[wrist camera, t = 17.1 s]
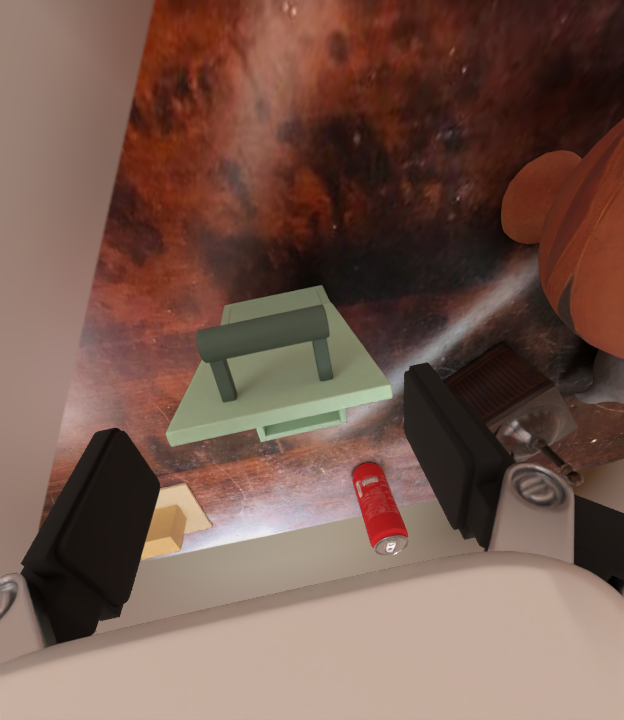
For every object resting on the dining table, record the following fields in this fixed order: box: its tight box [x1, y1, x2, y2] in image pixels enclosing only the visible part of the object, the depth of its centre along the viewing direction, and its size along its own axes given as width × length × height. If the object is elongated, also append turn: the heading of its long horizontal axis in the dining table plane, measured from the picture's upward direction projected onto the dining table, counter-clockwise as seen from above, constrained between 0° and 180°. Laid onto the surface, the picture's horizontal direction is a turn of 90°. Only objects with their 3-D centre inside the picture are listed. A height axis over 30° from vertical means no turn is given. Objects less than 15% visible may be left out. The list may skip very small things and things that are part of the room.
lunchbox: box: [220, 285, 347, 442], centre depth 37 cm, size 16×11×5 cm
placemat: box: [155, 482, 212, 534], centre depth 52 cm, size 12×12×1 cm
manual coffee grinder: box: [444, 342, 584, 485], centre depth 41 cm, size 16×11×18 cm
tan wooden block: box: [141, 505, 187, 560], centre depth 50 cm, size 6×4×5 cm, turn 99°
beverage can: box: [353, 463, 409, 555], centre depth 48 cm, size 5×5×12 cm
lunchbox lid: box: [166, 303, 392, 447], centre depth 22 cm, size 16×11×5 cm
